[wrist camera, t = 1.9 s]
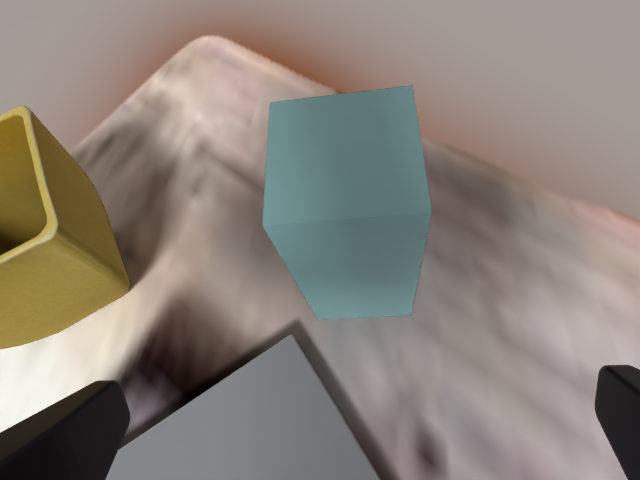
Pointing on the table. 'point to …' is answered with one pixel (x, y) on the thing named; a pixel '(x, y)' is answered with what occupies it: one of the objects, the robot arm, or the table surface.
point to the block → (349, 200)
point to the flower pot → (50, 236)
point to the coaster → (252, 430)
